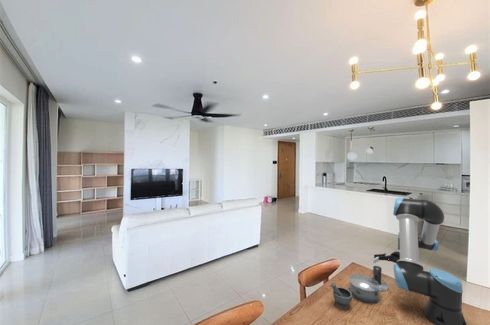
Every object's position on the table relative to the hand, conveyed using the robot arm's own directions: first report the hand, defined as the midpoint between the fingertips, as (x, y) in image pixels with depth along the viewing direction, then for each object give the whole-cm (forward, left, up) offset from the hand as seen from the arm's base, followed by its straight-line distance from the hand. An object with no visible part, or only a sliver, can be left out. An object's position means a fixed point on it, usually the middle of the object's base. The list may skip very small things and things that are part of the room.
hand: (384, 265), depth 138 cm
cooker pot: (-19, +18, -9) cm, 28 cm away
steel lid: (-7, +7, -10) cm, 14 cm away
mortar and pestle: (-31, +33, -10) cm, 46 cm away
